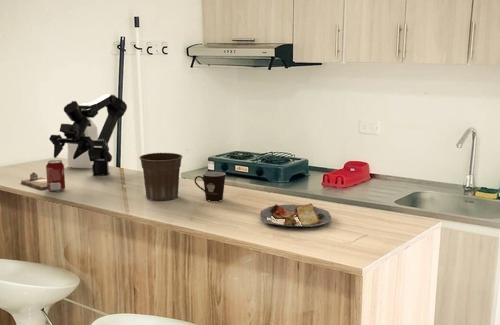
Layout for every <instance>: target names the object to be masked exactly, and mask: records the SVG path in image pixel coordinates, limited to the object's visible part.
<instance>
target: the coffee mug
mask: <svg viewBox="0 0 500 325" xmlns="http://www.w3.org/2000/svg"><path fill="white" fill-rule="evenodd" d="M198 178H200V179H201V180H202V181H203V187H204V188H203V187H201V186H200V185H199V183H198V182H197V179H198ZM225 181H226V172H223V171H206V172H203V173H202V176H201V175H197V176H195V177H194V181H193V182H194V184H195V185H196V186H197V188H199V189H200V190H201V191H202V192H204V194H205V196H204V197H205V201H207V200H210V201H218V202H221V201H220V200H222V199H224V192H225V183H226V182H225ZM210 201H209V202H210ZM222 201H223V200H222Z"/></svg>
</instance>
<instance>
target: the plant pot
mask: <svg viewBox="0 0 500 325" xmlns="http://www.w3.org/2000/svg"><path fill="white" fill-rule="evenodd" d="M182 159H183V155H182V154H179V153H174V152H173V153H172V152H154V153H153V152H151V153H146V154H142V155H139V160H140V165H141V168H142V173H143V180H144V188H145V196H146V199H147V200H150V201H154V200H155V201H156V202H159V201H160V202H161V200H162V201H164V200H165V201H171V200H170V199H172V200H175V199H177V198H178V197H179V185H180V184H179V182H180V181H179V180H180V168H181V165H182Z"/></svg>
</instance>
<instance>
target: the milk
mask: <svg viewBox="0 0 500 325" xmlns="http://www.w3.org/2000/svg"><path fill="white" fill-rule="evenodd" d="M87 119H88V120H90V123H91V127H90V126H87V128H86V130H85V132H84V133H85V136H90V138H91V139H92V140H97V139H98V137H99V134H98V133H99V131H98V126H97V125H96V124H95V123H94V121H93V120H92V118H87ZM73 123H74V121H71V123H70V124H73ZM77 147H78V144H70V143H67V168H71V167H72V168H75V169H77V168H78V169H92V165H93V162H94V161H90V159H89V155H88V151H86V152H85V153H83V154H82V155H80V156H79V157H77V158H76V159H73V156H74V153H75V151H76V149H77Z"/></svg>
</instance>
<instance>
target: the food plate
mask: <svg viewBox="0 0 500 325" xmlns="http://www.w3.org/2000/svg"><path fill="white" fill-rule="evenodd" d="M294 215H296V217H298V219H299V221H300V222H301V225H302V226H301V225H297V223H298V222H296V220H295V219H294V218H293V216H294ZM271 216H273V217H274V218H275V219H285V222H284V223H283V224H280V223H277V222H272V220H267V217H268V218H271ZM260 221H262V222H264V223H265V224H271V225H274V226H280V225H282V226H281V227H285V226H288V227H287V228H310V227H311V228H313V226H315V227H318V226H320V225H325V224H327V223H330V222H331V221H332V216H331V214H330V212H329V211H328V210H326V209H323V208H320V207H317V206H314V204H313V203H309V204H303V205H302V204H293V203H292V204H277V203H275V204H274V205H272V206H268V207H267V208H263V209H262V210H260Z"/></svg>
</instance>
